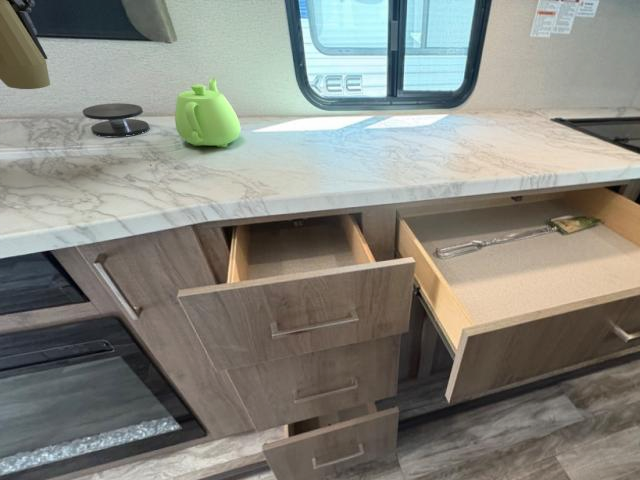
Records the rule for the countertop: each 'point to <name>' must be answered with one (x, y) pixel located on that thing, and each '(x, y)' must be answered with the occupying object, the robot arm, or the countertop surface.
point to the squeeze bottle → (19, 53)
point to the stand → (116, 119)
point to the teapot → (206, 117)
